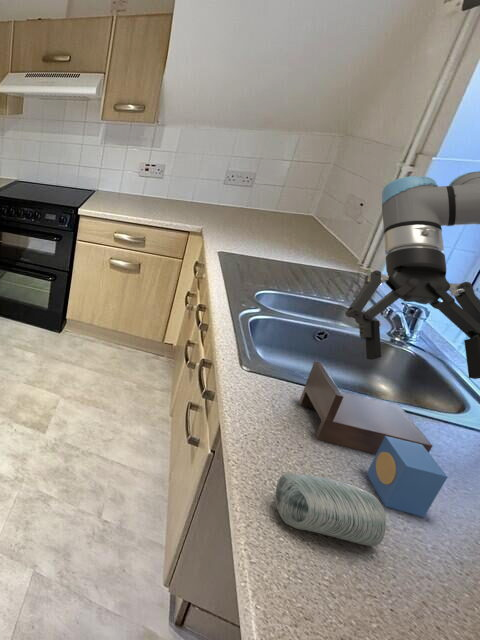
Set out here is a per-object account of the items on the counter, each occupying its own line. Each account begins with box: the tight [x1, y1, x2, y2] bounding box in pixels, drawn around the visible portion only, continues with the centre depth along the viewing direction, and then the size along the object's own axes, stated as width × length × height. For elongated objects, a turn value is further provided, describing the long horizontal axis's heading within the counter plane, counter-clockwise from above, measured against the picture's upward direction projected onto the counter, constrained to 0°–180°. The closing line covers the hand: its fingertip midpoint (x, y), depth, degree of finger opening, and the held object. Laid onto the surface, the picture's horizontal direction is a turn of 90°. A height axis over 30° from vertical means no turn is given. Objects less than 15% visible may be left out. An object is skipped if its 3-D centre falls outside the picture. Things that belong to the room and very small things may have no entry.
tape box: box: [366, 436, 448, 518], centre depth 70 cm, size 5×7×9 cm
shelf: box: [298, 361, 433, 455], centre depth 83 cm, size 16×12×11 cm
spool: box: [275, 472, 387, 547], centre depth 64 cm, size 14×10×10 cm
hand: (424, 367), depth 70 cm, fingers open, 13 cm apart
